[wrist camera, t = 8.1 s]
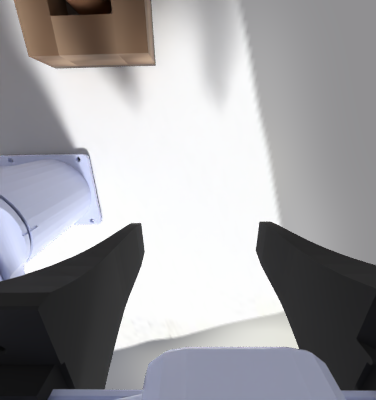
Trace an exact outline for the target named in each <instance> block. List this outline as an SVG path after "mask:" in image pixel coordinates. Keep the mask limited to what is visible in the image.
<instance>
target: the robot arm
mask: <svg viewBox="0 0 376 400" xmlns="http://www.w3.org/2000/svg"><path fill="white" fill-rule="evenodd" d="M78 157H79V158H80V159H81V161H79V160H78ZM11 159H12V160H13V162H12V160H11ZM91 219H93V220H94V221H92V220H91ZM101 221H102V218H101V213H100V208H99V203H98V198H97V193H96V188H95V184H94V179H93V174H92V169H91V164H90V159H89V157H88V155H86V154H50V155H2V156H0V400H376V265H373V264H369V263H366V262H363V261H360V260H357V259H353V258H350V257H348V256H345V255H342V254H339V253H337V252H334V251H331V250H329V249H326V248H324V247H322V246H319V245H317V244H315V243H313V242H310V241H308V240H306V239H304V238H302V237H300V236H298V235H296V234H294V233H292V232H290V231H288V230H287V229H285V228H283V227H281V226H279V225H277V224H275V223H272V222H260V223H259V231H258V238H257V246H256V252H257V255H258V258H259V261H260V263H261V266H262V268H263V270H264V271H265V273H266V275H267V277H268V279H269V281H270V283H271V285H272V287H273V288H274V290H275V292H276V294H277V296H278V298H279V300H280V302H281V304H282V306H283V309H284V311H285V313H286V316H287V318H288V321H289V323H290V326H291V328H292V331H293V334H294V336H295V339H296V341H297V344H298V347H299V349H295V348H289V347H185V348H179V349H173V350H167V351H166V352H164V353H163V354H161V355H160V356H158V357H157V358H155V359H154V360H153V361H151V362H150V363H149V365H148V369H147V372H146V376H145V381H144V386H143V390H107V389H105V385H106V380H107V376H108V371H109V367H110V363H111V359H112V355H113V351H114V346H115V343H116V339H117V335H118V331H119V327H120V324H121V320H122V317H123V313H124V310H125V306H126V303H127V301H128V298H129V295H130V293H131V290H132V288H133V285H134V283H135V280H136V278H137V275H138V273H139V270H140V267H141V264H142V260H143V256H144V252H145V251H144V243H143V235H142V227H141V223H131V224H129V225H127V226H126V227H124V228H123V229H121V230H119V231H118V232H116V233H115V234H113V235H112V236H110V237H109V238H107V239H105V240H104V241H102V242H100V243H99V244H97V245H95V246H94V247H92V248H90V249H88V250H86V251H84V252H82V253H80V254H78V255H76V256H74V257H72V258H69V259H67V260H64V261H62V262H59V263H57V264H54V265H52V266H49V267H46V268H44V269H41V270H38V271H35V272H32V273H28V274H25V273H24V265H25V264H26V263H27V262H28V261H29V260H30V259H32V258H33V257H34V256H35V255H37V254H38V253H39V252H40V251H41V250H43V249H44V248H45V247H46V246H48V245H49V244H50V243H51V242H52V241H54V240H55V239H56V238H57V237H58V236H60V235H61V234H62V233H63V232H65V231H66V230H67V229H68V228H69V227H71V226H72V225H87V224H100V223H101Z"/></svg>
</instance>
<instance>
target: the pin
mask: <svg viewBox="0 0 376 400" xmlns="http://www.w3.org/2000/svg"><path fill="white" fill-rule="evenodd" d="M66 1H67V2H68V3H69V4H70V5H71V6H72V7H73V8H74V9H75V10H76V11H77V12H78V13H79V14H80V15H93V14H111V11H112V6H111V0H66Z"/></svg>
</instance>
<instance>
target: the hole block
mask: <svg viewBox="0 0 376 400" xmlns="http://www.w3.org/2000/svg"><path fill="white" fill-rule="evenodd" d="M14 3H15V7H16V10H17V14H18V18H19V22H20V25H21V29H22V33H23V37H24V40H25V44H26V48H27V51H28V55H29V57H31V58H33V59H36V60H38V61H40V62H42V63H45V64H47V65H49V66H51V67H54V68H86V67H121V66H155V50H154V36H153V22H152V7H151V0H111V6H112V11H111V14H93V15H80V14H79V13H78V12H77V11H76V10H75V9H74V8H73V7H72V6H71V5H70V4H69V3H68V2H67V1H66V0H14Z"/></svg>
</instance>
